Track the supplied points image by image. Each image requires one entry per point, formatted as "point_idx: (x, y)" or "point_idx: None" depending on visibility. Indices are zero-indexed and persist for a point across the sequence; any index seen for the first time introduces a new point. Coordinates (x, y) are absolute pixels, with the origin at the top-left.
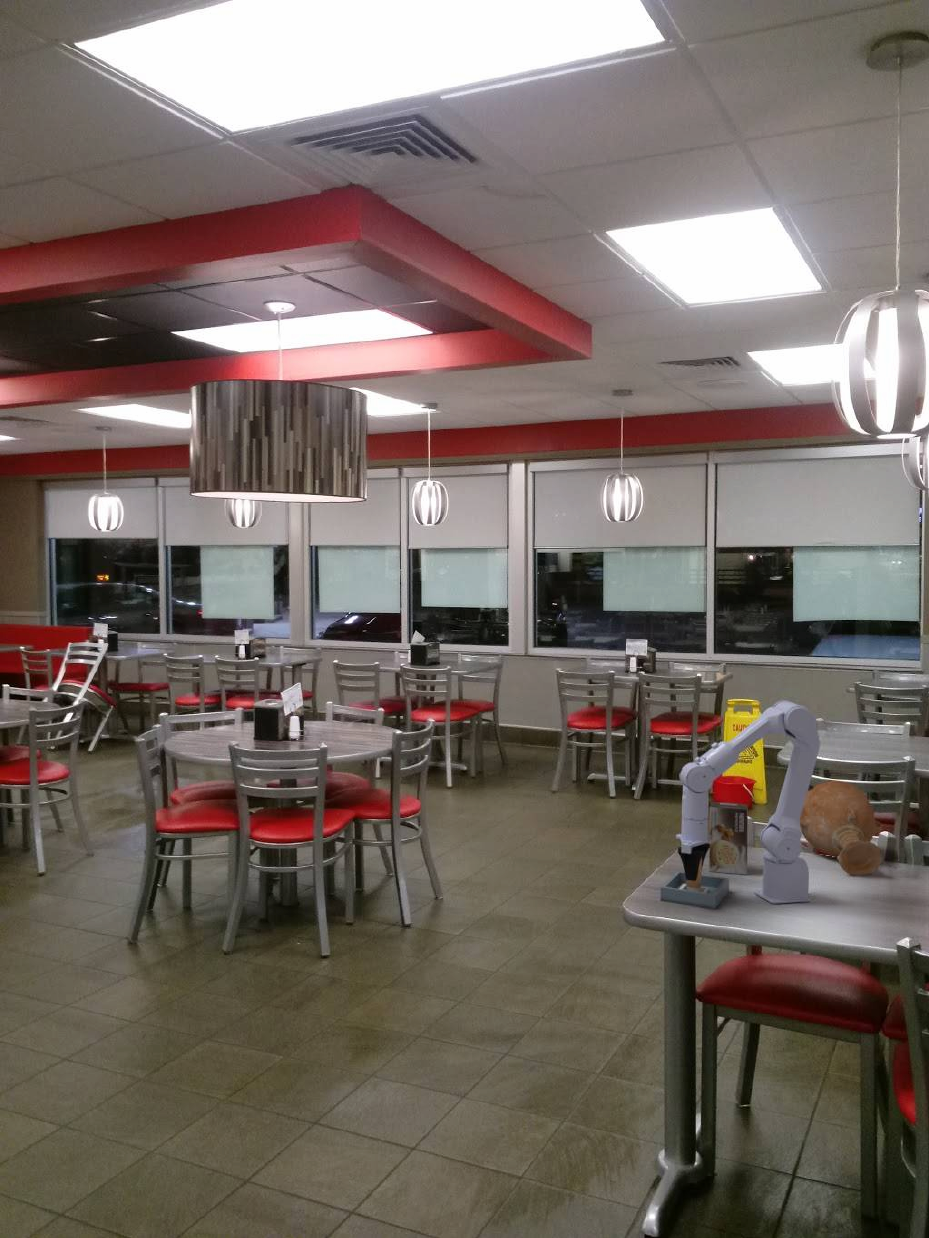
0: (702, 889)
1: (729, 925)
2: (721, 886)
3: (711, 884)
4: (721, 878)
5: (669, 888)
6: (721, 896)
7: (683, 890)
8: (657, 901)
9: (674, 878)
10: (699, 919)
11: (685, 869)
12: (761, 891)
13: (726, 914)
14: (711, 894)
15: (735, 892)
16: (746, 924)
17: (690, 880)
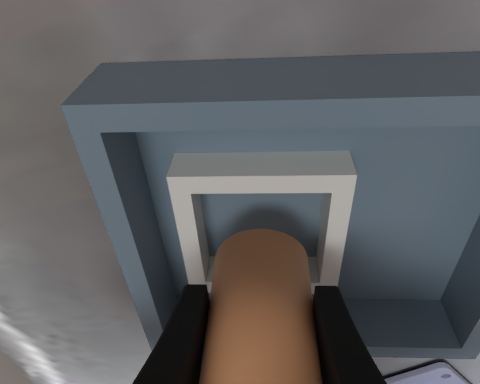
0: (319, 263)
1: (40, 343)
2: None
3: (466, 267)
4: (466, 338)
5: (86, 167)
6: None
7: (116, 243)
8: (70, 49)
9: (393, 123)
10: (5, 276)
11: (153, 357)
12: (445, 380)
13: (138, 326)
14: (157, 340)
15: None
16: (91, 368)
17: (212, 292)
